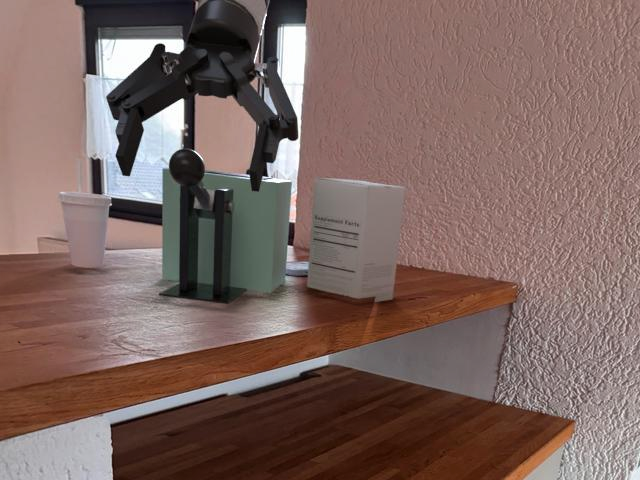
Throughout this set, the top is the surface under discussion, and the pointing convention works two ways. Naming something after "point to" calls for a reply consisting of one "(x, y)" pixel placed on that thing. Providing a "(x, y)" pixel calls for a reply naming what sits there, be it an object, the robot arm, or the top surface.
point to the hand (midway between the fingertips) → (188, 174)
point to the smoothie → (85, 224)
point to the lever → (193, 180)
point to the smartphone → (297, 268)
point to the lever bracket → (189, 251)
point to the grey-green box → (234, 231)
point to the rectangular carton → (355, 238)
